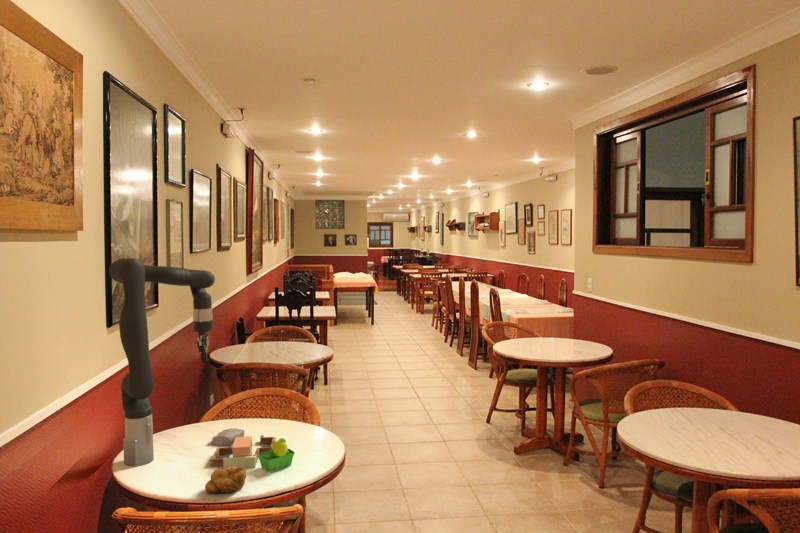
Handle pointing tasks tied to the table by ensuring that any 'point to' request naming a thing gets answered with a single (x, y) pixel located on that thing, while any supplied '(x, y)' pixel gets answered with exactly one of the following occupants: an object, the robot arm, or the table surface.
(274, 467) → the fruit basket
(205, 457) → the table surface
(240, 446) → the terracotta brick
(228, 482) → the bread roll
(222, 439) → the stone block
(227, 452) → the box
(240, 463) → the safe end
